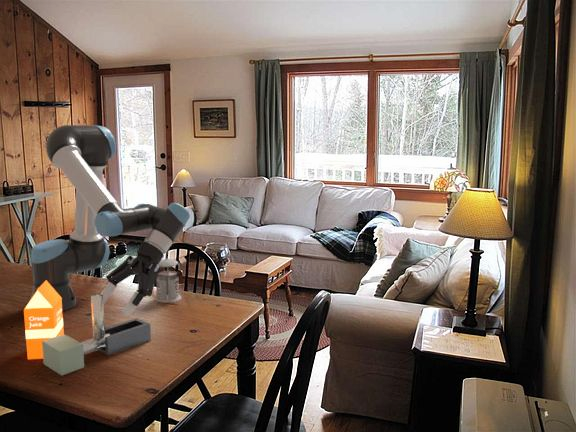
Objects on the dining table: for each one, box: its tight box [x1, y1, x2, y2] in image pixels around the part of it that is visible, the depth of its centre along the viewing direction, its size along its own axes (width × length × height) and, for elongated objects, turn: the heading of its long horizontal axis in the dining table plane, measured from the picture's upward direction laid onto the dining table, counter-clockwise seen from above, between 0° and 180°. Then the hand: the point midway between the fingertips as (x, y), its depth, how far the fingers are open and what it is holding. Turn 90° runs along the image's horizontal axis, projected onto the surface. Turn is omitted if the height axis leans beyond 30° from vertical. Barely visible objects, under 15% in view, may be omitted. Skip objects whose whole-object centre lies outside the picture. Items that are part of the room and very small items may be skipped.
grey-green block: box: [42, 333, 85, 376], centre depth 136 cm, size 6×10×7 cm, turn 51°
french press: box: [154, 257, 182, 304], centre depth 188 cm, size 10×12×25 cm
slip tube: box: [79, 293, 110, 356], centre depth 140 cm, size 14×4×16 cm, turn 141°
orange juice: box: [23, 280, 65, 360], centre depth 143 cm, size 8×9×20 cm
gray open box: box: [98, 317, 152, 357], centre depth 150 cm, size 14×7×5 cm, turn 141°
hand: (111, 308), depth 145 cm, fingers open, 13 cm apart
